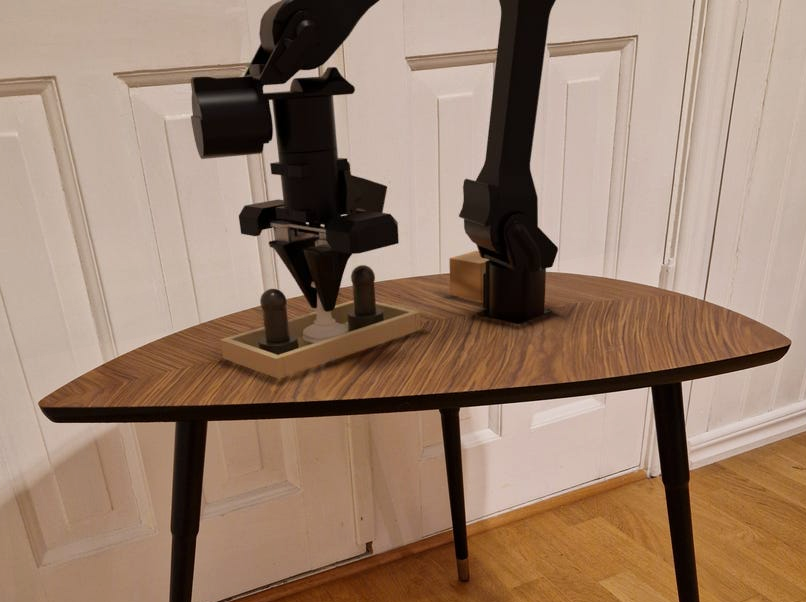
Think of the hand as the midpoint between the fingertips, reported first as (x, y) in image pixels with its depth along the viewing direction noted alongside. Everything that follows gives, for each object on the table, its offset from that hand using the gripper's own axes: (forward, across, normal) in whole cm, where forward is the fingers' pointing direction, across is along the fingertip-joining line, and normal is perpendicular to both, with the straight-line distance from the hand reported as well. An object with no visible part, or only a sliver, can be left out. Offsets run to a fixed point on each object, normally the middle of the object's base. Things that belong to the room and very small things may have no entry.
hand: (323, 309), depth 85 cm
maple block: (+4, 0, -25) cm, 25 cm away
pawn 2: (+4, 0, -6) cm, 7 cm away
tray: (+4, 0, 0) cm, 4 cm away
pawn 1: (+4, 0, +6) cm, 7 cm away
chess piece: (+3, 0, 0) cm, 3 cm away
